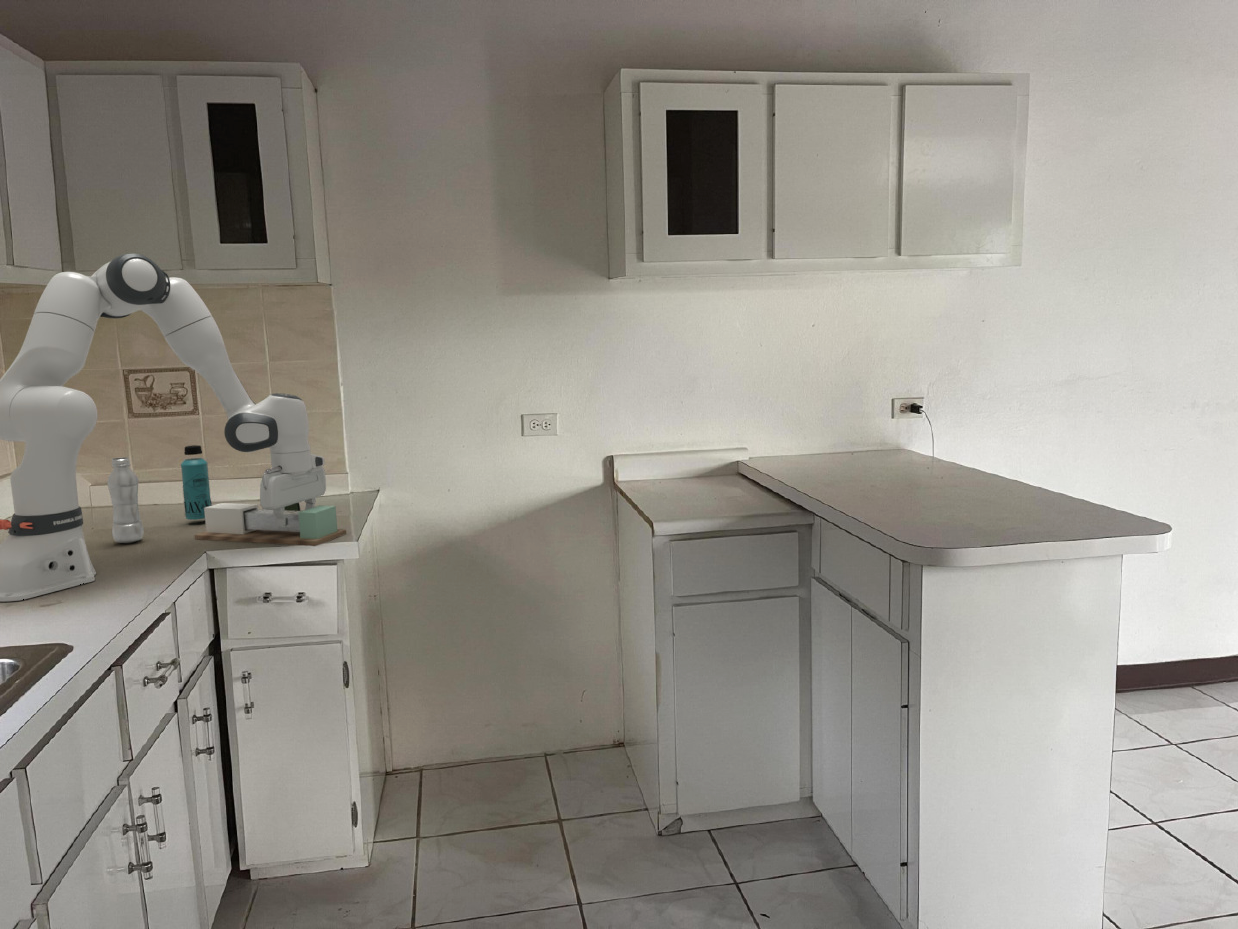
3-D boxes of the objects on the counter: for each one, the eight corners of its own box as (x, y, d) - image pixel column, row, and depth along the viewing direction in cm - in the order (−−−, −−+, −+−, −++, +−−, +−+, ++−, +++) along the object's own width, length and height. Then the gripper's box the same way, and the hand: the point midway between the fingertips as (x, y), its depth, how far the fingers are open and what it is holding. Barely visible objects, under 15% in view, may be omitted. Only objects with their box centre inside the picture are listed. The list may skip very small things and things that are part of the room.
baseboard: (194, 539, 224) (194, 535, 224) (229, 528, 235) (229, 524, 235) (316, 545, 214) (315, 541, 214) (346, 533, 225) (345, 529, 225)
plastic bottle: (106, 545, 220) (97, 460, 217) (131, 538, 227) (122, 455, 223) (127, 546, 218) (117, 461, 215) (151, 540, 224) (142, 456, 221)
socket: (300, 538, 217) (298, 512, 216) (321, 530, 225) (319, 505, 224) (317, 539, 216) (315, 512, 215) (337, 531, 223) (335, 506, 222)
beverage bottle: (180, 524, 241) (172, 446, 238) (202, 519, 247) (194, 443, 244) (197, 526, 238) (189, 447, 235) (219, 521, 244) (212, 444, 241)
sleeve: (206, 532, 226) (204, 507, 225) (223, 526, 232) (221, 502, 231) (243, 534, 223) (241, 509, 222) (260, 528, 229) (257, 504, 228)
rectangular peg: (245, 529, 224) (243, 512, 223) (256, 525, 228) (254, 509, 227) (315, 532, 218) (314, 515, 217) (325, 528, 222) (324, 512, 221)
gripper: (274, 470, 209) (279, 531, 211) (328, 457, 228) (332, 513, 230) (250, 469, 210) (255, 530, 213) (306, 456, 230) (310, 512, 232)
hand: (296, 521), depth 221 cm, fingers open, 8 cm apart
